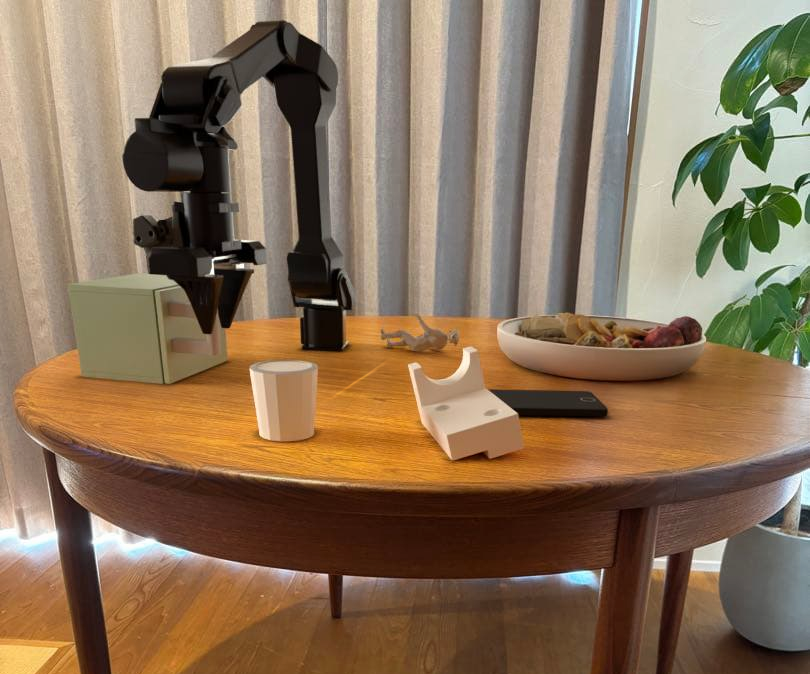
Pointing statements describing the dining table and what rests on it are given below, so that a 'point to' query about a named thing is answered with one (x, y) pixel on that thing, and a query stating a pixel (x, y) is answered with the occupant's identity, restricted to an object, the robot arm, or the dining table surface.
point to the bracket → (466, 411)
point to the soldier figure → (421, 338)
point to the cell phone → (552, 402)
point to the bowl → (602, 346)
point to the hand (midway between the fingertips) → (216, 331)
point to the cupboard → (119, 327)
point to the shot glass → (285, 398)
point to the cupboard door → (186, 337)
